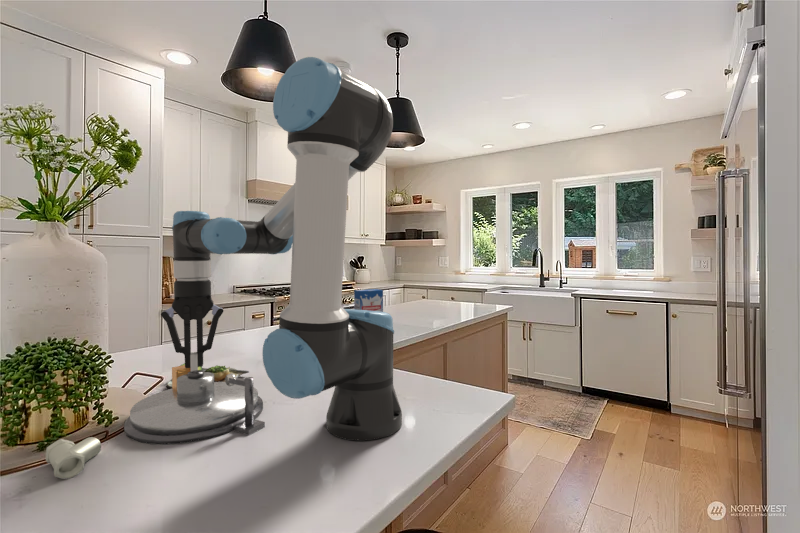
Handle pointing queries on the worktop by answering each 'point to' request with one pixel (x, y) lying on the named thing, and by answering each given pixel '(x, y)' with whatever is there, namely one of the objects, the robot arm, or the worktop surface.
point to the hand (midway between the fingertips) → (194, 381)
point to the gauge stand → (246, 405)
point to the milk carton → (368, 300)
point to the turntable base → (185, 437)
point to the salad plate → (217, 373)
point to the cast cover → (195, 388)
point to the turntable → (188, 409)
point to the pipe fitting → (71, 456)
